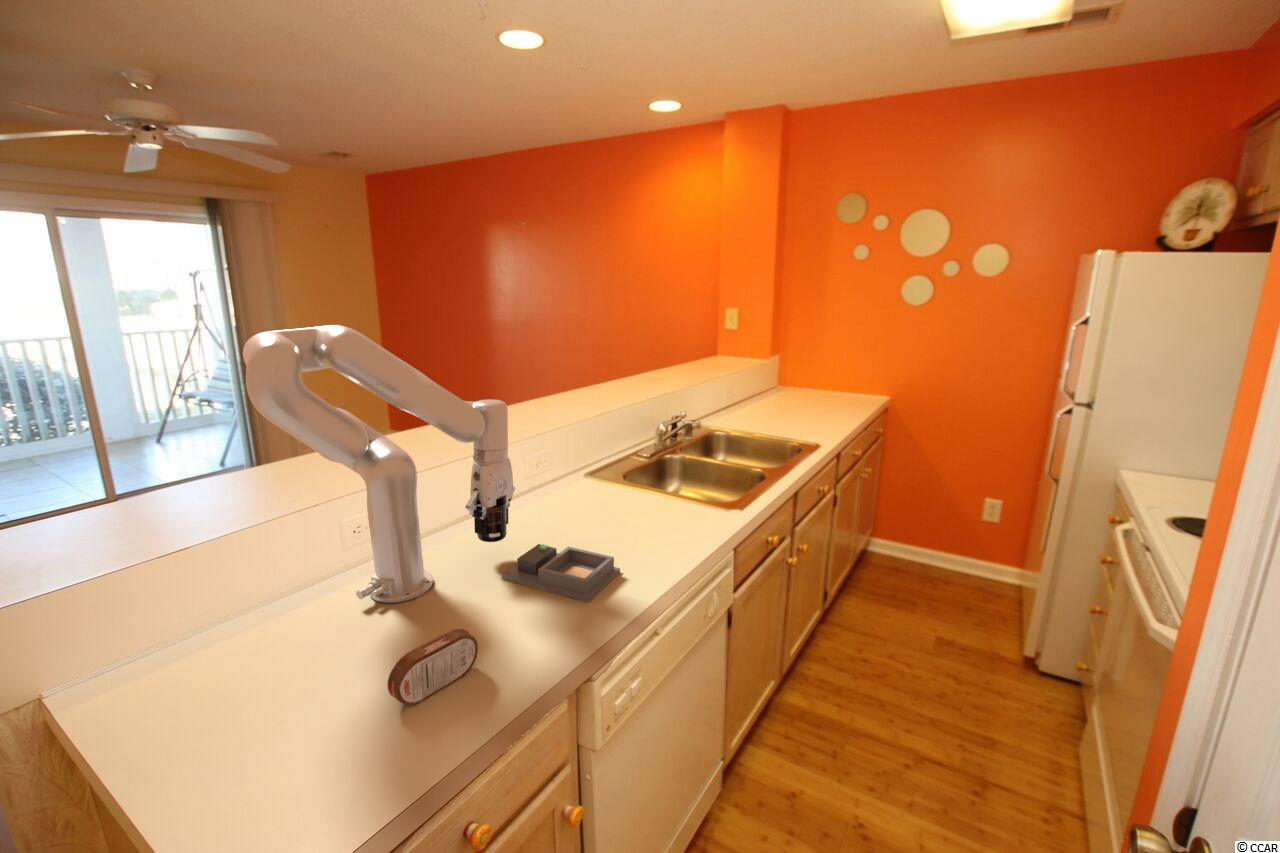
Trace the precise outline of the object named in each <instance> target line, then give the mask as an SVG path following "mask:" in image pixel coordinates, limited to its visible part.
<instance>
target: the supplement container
mask: <svg viewBox="0 0 1280 853" xmlns="http://www.w3.org/2000/svg"><path fill="white" fill-rule="evenodd" d="M506 502H507V500H506V495H505V496H503V497H501V498H498V499H496V505H495V506H493V507H491V508H487V512H486V516H485V518H487V535H485V536H484V535H480V534H477V533H476V534H477V535H476V536H477V538H478V539H479V541H482V542H484V543H497V542H500V541H503V540H504V539H505V538H506V537H507V531H508V530H507V525H508V524H507V521H506ZM479 504H481V502H480V500H479ZM479 511H480V512H481V511H482V507H479Z"/></svg>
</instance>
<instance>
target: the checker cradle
mask: <svg viewBox="0 0 1280 853" xmlns="http://www.w3.org/2000/svg"><path fill="white" fill-rule="evenodd" d="M516 560H517V563H516V565H514V566H513V567H511V568H510V569H508V570H507V571H505V572H504V573H502V576H501V577H502V580H505V581H509V582H512V583H517V584H520V585H524V586H525V587H526V586H527V587H531V588H533V589H534V588H535V589H537V590H542V591H544V592H549V593H552V594H556V595H559V596H563V597H567V598H570V599H574V600H577V601H581V602H585V603H590V602H591V601H592V600H593V599H594V598H595V597H596V596H597V595H598V594H599V593H601V591H602V590H603V589H604V588H605V587H606V586H608V584H609V583H611V581H612V580H614V579H615V578H616V577H617V576H618V575H619V574H620V573H621V568H619V567H618V566H617V567H616V566H615V557H614V556H610V555H606V554H602V553H598V552H593V551H588V550H584V549H582V548H581V549H580V548H576V547H573V546H567V547H566V548H565V549H563V550H561V552H559V553H558V552H557V548H556V547H553V546H549V545H547V544H543V543H542V544H540V543H537V544H536V545H535V546H533V547H532V548H531V549H528V551H526V552H525V553H523V554H522V555H520V556H519V557H518V558H516Z"/></svg>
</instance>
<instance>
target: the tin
mask: <svg viewBox="0 0 1280 853" xmlns="http://www.w3.org/2000/svg"><path fill="white" fill-rule="evenodd" d="M478 651H479V645H478V641H477V639H476V637H474V635H472V634H471V633H469V631H467V630H466V629H464V628H454V629H451V630H449V631H447V632H445V633H443V634H441V635H440V636H437V637H435V638H433V639H431V640H430V641H428V642H425V643H424V644H421V645H420V646H418V647H415V648H413V649H412V650H409V651H408V652H407V653H405V654H404V655H403V656H402V657H401V658H399V660H397V662H396V663H395V664H394V666H393V667H392V669H391V671H390V673H389V675H388V680H387V689H388V690H387V691H388V693H389V695H390V696H391V697H393V698H394V699H395V700H397V701H398V702H399V703H400V704H403V705H406V706H407V705H408V706H412V705H416V704H419V703H421V702H423V701H425V700H426V699H429V697H430V698H431V697H432V696H434V694H437V693H438V692H440V691H442V690H444V689H445V688H446V687H448V686H450V685H451V684H454V683H455V682H457V681H458V680H460V679H462V678H463V677H464V676H465V675H466V674H468V673H469V672H470V670H471V669H472V667H473V666H474V664H475V662H476V660H477V657H478Z"/></svg>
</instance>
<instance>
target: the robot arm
mask: <svg viewBox="0 0 1280 853" xmlns="http://www.w3.org/2000/svg"><path fill="white" fill-rule="evenodd" d="M242 357H243V361H244V363H245V365H246V369H245V386H246V387H245V388H246V392H247V395H248V397H249V399H250V400H249V401H250V403H251V404H252V405H253V407H254V408H255V409H256V410H257V412H258V413H259V414H260V415H261V416H262V417H263V418H265V419H266V420H267V421H269V422H270V423H271V424H273V425H275V426H276V427H277V428H279V429H281V430H282V431H284V432H286V433H287V434H288V435H290V436H292V438H294V439H296V440H298V441H299V442H301V443H302V444H304V445H305V446H307V447H309V448H310V449H312V450H313V451H315V452H316V453H318V454H319V455H320V456H321V457H323V458H324V459H326V460H328V461H331V462H332V463H337V464H341V465H343V466H344V467H346V468H348V469H350V470H351V471H353V472H354V473H356V474H358V475H359V476H360V477H361V479H362V480H363V481H364V483H365V489H366V509H367V521H368V526H369V534H370V541H371V549H372V558H373V564H374V574H373V575H371V576H370V580H371V581H370V582H369V583H368V584H367V585H366V586H363V587H361V588H360V589H359V590H356V591H355V595H356V596H357V599H359V600H363V599H365V598H366V597H368V596H370V598H371V599H373V600H375V601H376V602H380V603H386V604H387V603H388V604H389V603H391V604H393V603H394V604H395V603H401V602H406V601H410V600H413V599H416V598H418V597H420V596H422V595H424V594H425V593H427V591H429V590H430V589H431V587H432V586H433V582H434V581H433V580H434V579H433V576H432V574H431V572H429V571H427V570H425V568H424V567H425V566H424V557H423V546H422V541H421V540H422V538H421V537H422V536H421V529H420V528H421V527H420V520H419V518H420V516H419V511H418V497H417V495H418V493H417V491H418V490H417V488H418V471H417V467H416V463H415V462H414V460H413V458H412V456H410V454H409V453H408V452H407V451H406V450H404V449H403V448H402V447H400V446H399V445H397V444H396V443H395V442H394V441H392V440H391V439H390V438H388V437H386V436H385V435H384V434H382V433H381V432H380V431H378V430H376V429H375V428H373V427H372V426H370V425H369V424H367V423H366V422H364V421H363V420H361V419H360V418H358V417H357V416H356V415H354V414H352V413H351V412H350V411H348V410H346V409H343V408H340V407H335V406H334V405H332V404H331V403H329V402H327V401H326V400H324V398H322V397H321V396H319V395H318V394H317V393H315V392H313V391H312V390H311V389H309V388H308V387H307V386H306V385H305V382H304V380H303V378H302V373H307V372H313V371H314V372H315V371H321V370H327V369H332V370H333V371H334V372H336V373H338V374H340V375H341V376H343V377H344V378H346V379H348V380H349V381H352V382H353V383H355V384H357V385H358V386H360V387H362V388H363V389H365V390H367V391H369V392H371V393H372V394H373V395H375V396H376V397H378V398H380V399H382V400H384V401H385V402H387V403H389V404H391V405H392V406H394V407H395V408H397V409H400V410H401V411H405V412H406V413H409V414H411V415H412V416H415V417H417V418H419V419H421V420H422V421H424V422H426V423H427V424H429V425H431V426H432V427H434V428H436V429H437V430H439V431H441V432H442V433H443V434H445V435H448V436H449V437H451V438H453V439H454V440H456V441H457V442H460V443H464V444H466V443H467V444H468V443H473V456H472V458H473V462H472V468H471V476H470V497H469V500H468V501H467V503H466V504H465V505H464V506H465V509H466V511H468V513H469V514H470V515H471V516H472V518H473V519H474V533H475V534H480V535H484V536H485V535H487V518H485V516H486V512H487V508H491V507H493V506H495V505H496V499H498V498H501V497H503V496H505V495H506V500H507V502H506V521H507V525H508V524H509V508H510V506H511V503H510V502H511V500H512V499H513V496H514V493H515V490H516V487H515V485H514V479H513V478H514V476H513V467H512V462H511V459H510V457H509V449H508V448H509V446H508V445H509V436H508V435H509V434H508V432H509V431H508V429H509V427H508V426H509V425H508V424H509V422H508V421H509V419H508V417H509V414H508V413H509V412H508V405H507V403H506V402H505V401H503V400H501V399H492V398H491V399H487V398H486V399H480V400H475V401H470V400H468V401H467V400H463V399H461V398H460V397H459V396H457V395H455V394H454V393H452V392H451V391H450V390H447V389H446V388H444V387H443V386H441V385H440V384H438V383H436V382H435V381H434V380H432V379H431V378H429V377H428V376H427V375H425V374H424V373H423V372H421V371H420V370H418V369H417V368H415V367H414V366H412V365H410V364H409V363H407V361H404V360H402V359H401V358H400V357H398V356H396V355H395V354H393V353H391V352H390V351H389V350H387V349H386V348H384V347H382V346H381V345H379V344H378V343H376V342H375V341H373V340H372V339H370V338H369V337H367V336H366V335H364V334H363V333H361V332H360V331H358V330H356V329H354V328H351V327H348V326H344V325H341V324H329V325H328V324H327V325H321V326H320V325H319V326H313V327H302V328H292V329H289V328H288V329H281V330H279V329H278V330H269V331H263V332H258V333H257V334H255V335H253V336H251V337H249V339H248V340H247V341H245V344H244V346H243V350H242ZM479 500H480V502H481V504H479ZM479 507H482V511H481V512H480V511H479Z"/></svg>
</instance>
